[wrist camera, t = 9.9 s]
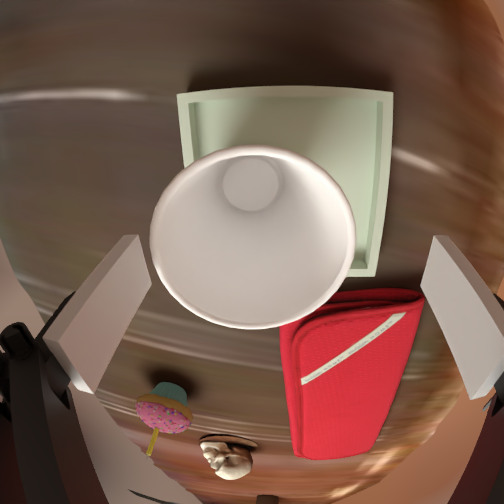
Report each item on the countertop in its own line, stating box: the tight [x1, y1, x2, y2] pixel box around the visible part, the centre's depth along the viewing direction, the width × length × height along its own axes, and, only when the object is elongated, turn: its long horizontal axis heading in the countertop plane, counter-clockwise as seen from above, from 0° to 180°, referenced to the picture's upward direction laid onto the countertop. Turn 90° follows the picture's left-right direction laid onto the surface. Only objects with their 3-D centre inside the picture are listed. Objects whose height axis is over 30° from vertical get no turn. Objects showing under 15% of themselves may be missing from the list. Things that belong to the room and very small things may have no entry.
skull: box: [199, 436, 257, 480], centre depth 49 cm, size 12×10×10 cm
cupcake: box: [135, 382, 193, 459], centre depth 36 cm, size 9×8×12 cm
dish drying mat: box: [279, 288, 425, 460], centre depth 37 cm, size 16×41×4 cm, turn 9°
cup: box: [150, 145, 357, 329], centre depth 19 cm, size 10×10×11 cm
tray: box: [177, 86, 393, 277], centre depth 23 cm, size 16×16×2 cm
